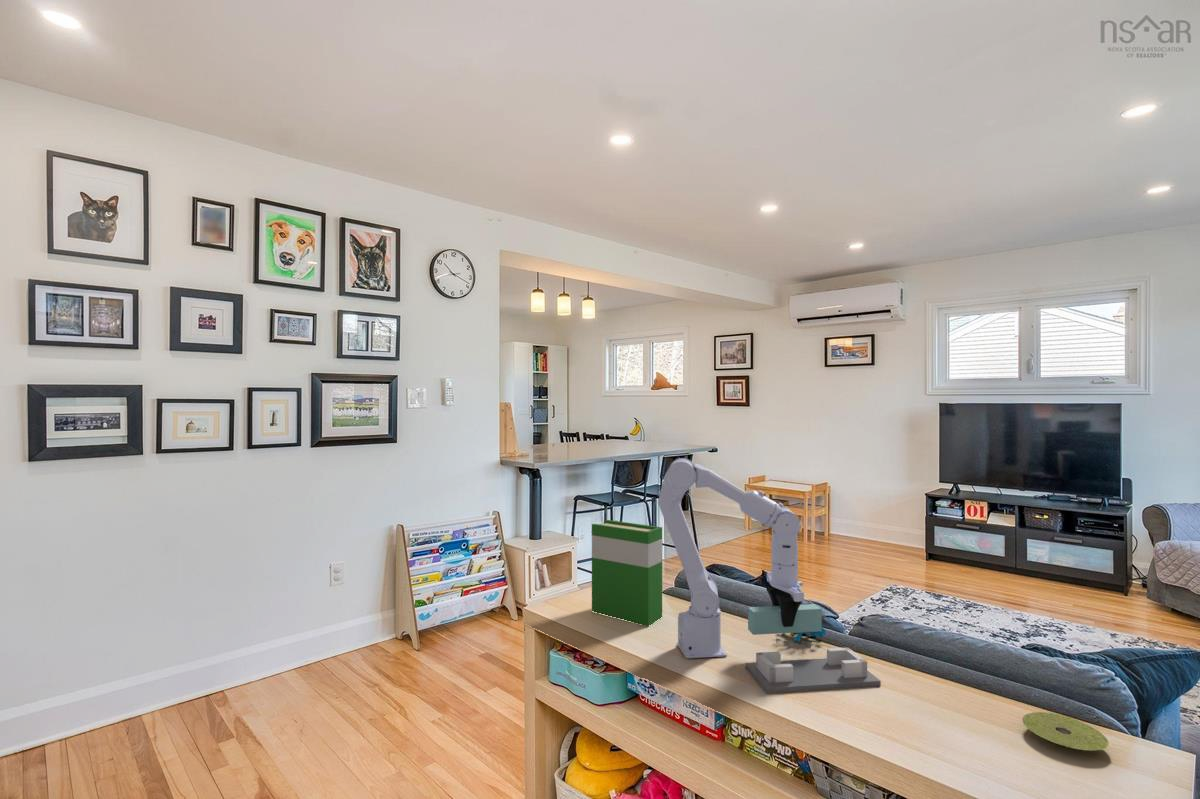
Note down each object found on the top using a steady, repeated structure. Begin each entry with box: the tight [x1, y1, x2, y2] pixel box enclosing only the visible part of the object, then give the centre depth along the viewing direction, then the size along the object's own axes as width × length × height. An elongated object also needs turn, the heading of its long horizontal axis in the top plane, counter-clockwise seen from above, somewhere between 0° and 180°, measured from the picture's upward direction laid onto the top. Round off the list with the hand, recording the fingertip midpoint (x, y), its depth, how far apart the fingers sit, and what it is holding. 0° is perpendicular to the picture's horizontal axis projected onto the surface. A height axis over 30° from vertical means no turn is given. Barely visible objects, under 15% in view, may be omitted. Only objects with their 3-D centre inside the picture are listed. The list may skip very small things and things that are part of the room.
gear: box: [781, 624, 827, 643], centre depth 138 cm, size 11×6×10 cm
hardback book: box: [591, 519, 663, 627], centre depth 154 cm, size 18×7×24 cm, turn 56°
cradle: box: [744, 647, 882, 694], centre depth 119 cm, size 24×11×4 cm, turn 97°
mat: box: [1021, 711, 1109, 751], centre depth 96 cm, size 11×11×2 cm
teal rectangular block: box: [747, 603, 823, 636], centre depth 129 cm, size 16×3×5 cm, turn 97°
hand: (784, 623), depth 129 cm, fingers closed on teal rectangular block, 3 cm apart
